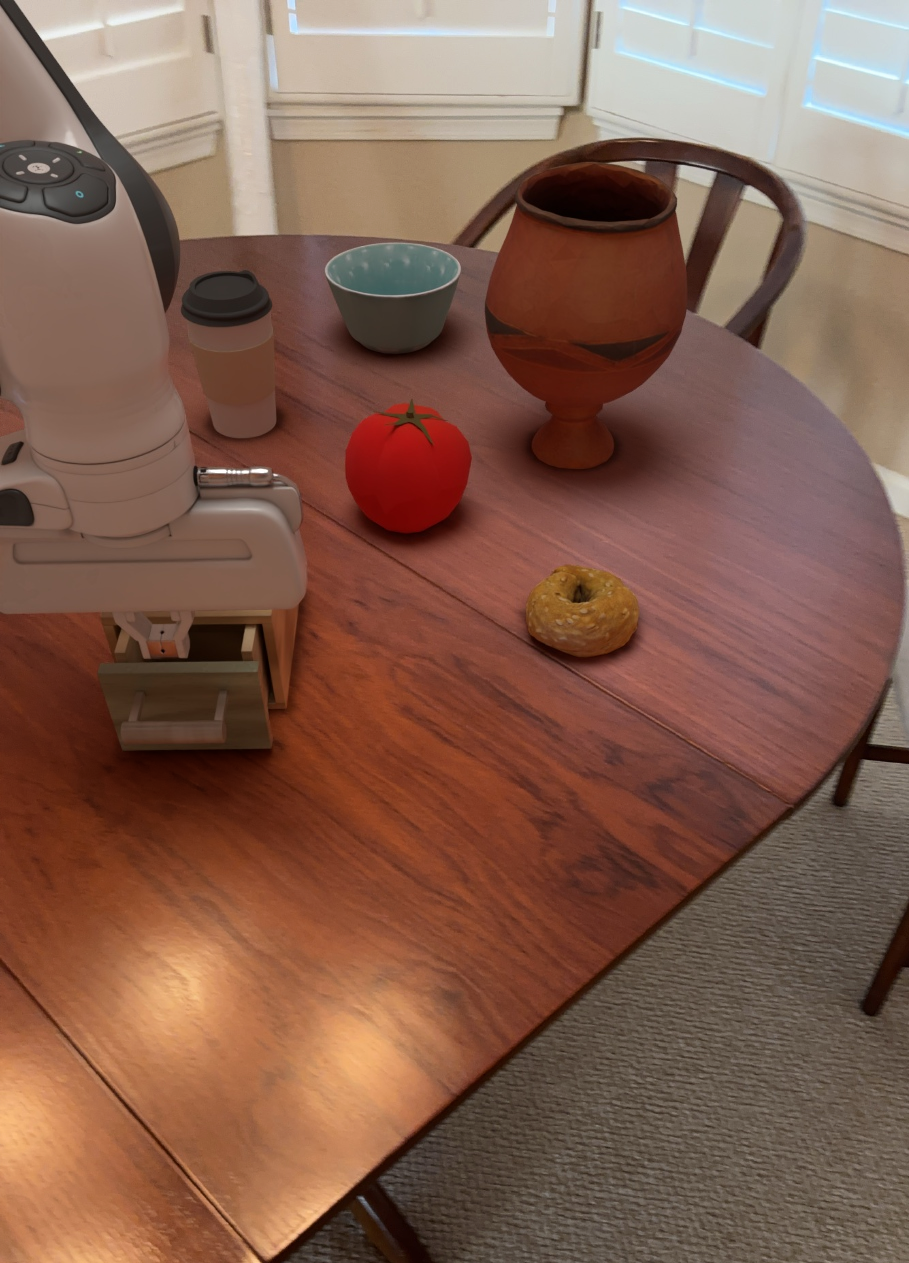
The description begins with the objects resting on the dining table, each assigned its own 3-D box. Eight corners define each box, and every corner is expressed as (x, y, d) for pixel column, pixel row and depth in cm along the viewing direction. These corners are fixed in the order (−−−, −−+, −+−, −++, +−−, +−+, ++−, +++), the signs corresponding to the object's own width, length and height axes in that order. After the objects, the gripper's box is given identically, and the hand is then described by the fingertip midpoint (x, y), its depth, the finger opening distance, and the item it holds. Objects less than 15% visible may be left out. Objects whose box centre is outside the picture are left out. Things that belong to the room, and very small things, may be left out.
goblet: (504, 510, 105) (515, 240, 86) (465, 413, 117) (467, 159, 98) (689, 489, 107) (740, 223, 88) (632, 396, 120) (665, 145, 101)
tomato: (344, 550, 100) (334, 441, 92) (352, 483, 108) (344, 377, 99) (471, 551, 100) (472, 442, 92) (471, 484, 108) (472, 377, 99)
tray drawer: (265, 795, 78) (250, 718, 73) (109, 797, 78) (82, 720, 72) (286, 635, 90) (275, 558, 85) (151, 637, 90) (131, 560, 84)
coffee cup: (227, 454, 111) (202, 309, 100) (188, 418, 116) (159, 276, 105) (302, 428, 115) (286, 285, 104) (261, 394, 120) (241, 254, 108)
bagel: (652, 602, 95) (660, 557, 91) (617, 678, 88) (624, 633, 85) (546, 576, 97) (550, 532, 94) (505, 649, 91) (507, 604, 87)
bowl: (338, 308, 134) (332, 238, 128) (462, 310, 134) (463, 240, 128) (323, 367, 124) (316, 294, 118) (458, 370, 124) (458, 297, 117)
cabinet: (286, 710, 86) (271, 615, 78) (129, 712, 86) (99, 617, 78) (300, 598, 95) (287, 504, 88) (159, 599, 95) (135, 505, 88)
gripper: (301, 438, 64) (323, 620, 75) (-40, 443, 64) (30, 625, 74) (293, 496, 60) (317, 681, 70) (-72, 502, 60) (7, 686, 70)
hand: (167, 652), depth 72 cm, fingers closed
